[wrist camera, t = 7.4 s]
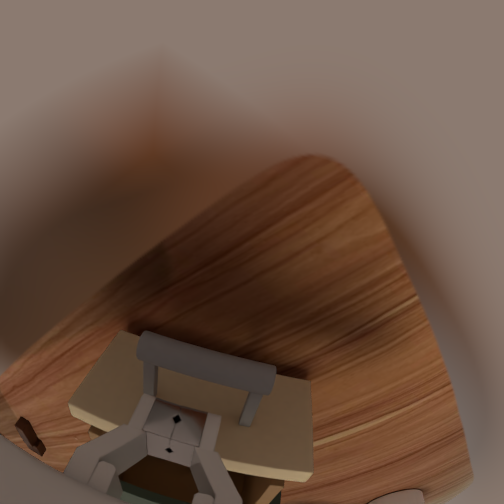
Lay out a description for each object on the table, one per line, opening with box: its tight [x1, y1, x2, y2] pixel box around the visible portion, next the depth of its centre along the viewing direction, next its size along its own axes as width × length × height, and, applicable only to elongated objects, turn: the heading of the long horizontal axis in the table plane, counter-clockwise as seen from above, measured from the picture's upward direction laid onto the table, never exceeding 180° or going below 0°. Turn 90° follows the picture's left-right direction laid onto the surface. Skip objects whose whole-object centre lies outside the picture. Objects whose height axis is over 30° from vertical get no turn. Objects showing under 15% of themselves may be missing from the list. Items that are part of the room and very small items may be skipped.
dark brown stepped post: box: [15, 417, 46, 456], centre depth 30 cm, size 8×3×2 cm, turn 167°
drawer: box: [68, 330, 314, 504], centre depth 17 cm, size 17×12×7 cm
